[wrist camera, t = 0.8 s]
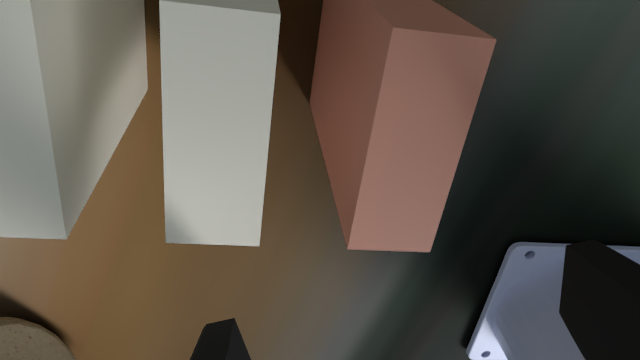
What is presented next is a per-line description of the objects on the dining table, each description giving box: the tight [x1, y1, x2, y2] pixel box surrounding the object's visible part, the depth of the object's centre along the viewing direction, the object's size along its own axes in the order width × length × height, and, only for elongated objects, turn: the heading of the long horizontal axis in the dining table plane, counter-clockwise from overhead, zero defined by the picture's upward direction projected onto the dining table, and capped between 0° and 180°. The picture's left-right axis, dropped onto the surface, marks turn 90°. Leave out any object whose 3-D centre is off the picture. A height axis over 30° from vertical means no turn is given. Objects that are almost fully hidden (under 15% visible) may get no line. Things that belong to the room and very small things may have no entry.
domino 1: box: [0, 0, 148, 239], centre depth 13 cm, size 2×5×9 cm, turn 172°
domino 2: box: [159, 0, 281, 246], centre depth 13 cm, size 2×5×9 cm, turn 172°
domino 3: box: [310, 0, 497, 252], centre depth 14 cm, size 2×5×9 cm, turn 172°
